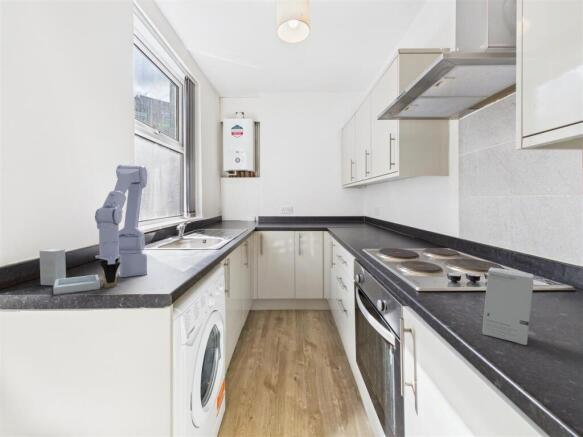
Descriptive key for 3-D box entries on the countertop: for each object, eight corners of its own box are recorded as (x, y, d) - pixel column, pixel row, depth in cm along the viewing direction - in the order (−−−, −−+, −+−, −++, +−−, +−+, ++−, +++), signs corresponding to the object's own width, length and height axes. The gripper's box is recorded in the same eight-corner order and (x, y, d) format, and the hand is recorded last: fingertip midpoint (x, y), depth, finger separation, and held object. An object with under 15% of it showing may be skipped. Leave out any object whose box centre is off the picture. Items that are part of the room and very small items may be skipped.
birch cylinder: (116, 283, 102) (115, 264, 102) (117, 286, 99) (117, 266, 99) (102, 285, 100) (102, 265, 99) (103, 288, 97) (103, 267, 96)
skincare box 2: (482, 334, 66) (485, 270, 65) (485, 326, 70) (488, 266, 69) (529, 346, 60) (533, 276, 59) (530, 336, 65) (533, 271, 64)
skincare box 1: (66, 282, 103) (65, 249, 102) (55, 285, 99) (54, 251, 98) (51, 281, 104) (50, 248, 103) (39, 285, 99) (38, 250, 99)
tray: (98, 280, 106) (97, 274, 106) (100, 288, 96) (99, 282, 96) (55, 285, 98) (55, 279, 98) (53, 295, 89) (53, 287, 89)
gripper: (94, 240, 102) (95, 278, 103) (96, 245, 90) (97, 288, 91) (117, 239, 106) (117, 275, 107) (122, 244, 95) (122, 284, 95)
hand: (110, 281), depth 99 cm, fingers closed on birch cylinder, 4 cm apart
